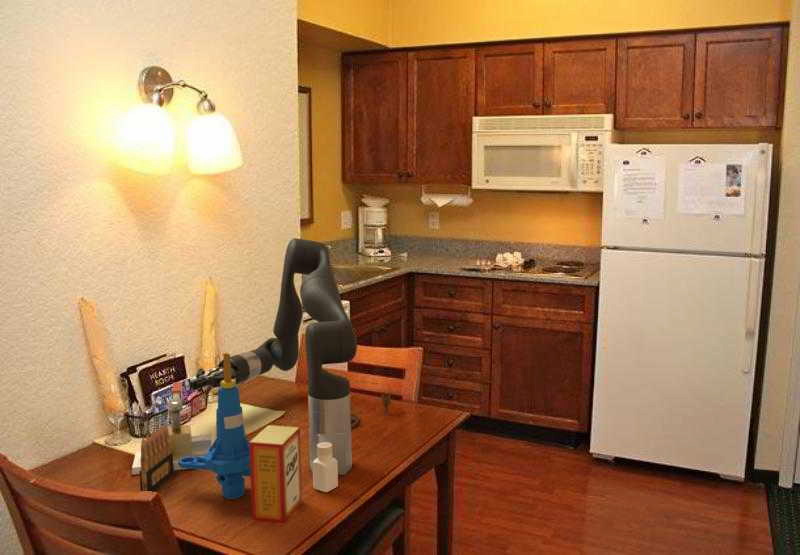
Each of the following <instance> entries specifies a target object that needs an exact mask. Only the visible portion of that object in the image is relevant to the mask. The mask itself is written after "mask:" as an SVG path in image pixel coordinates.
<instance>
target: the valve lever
mask: <svg viewBox="0 0 800 555" xmlns="http://www.w3.org/2000/svg"><path fill="white" fill-rule="evenodd" d="M171 389H172V390H171V396H172V399H171V400H169V401H167V403H166V404H167V411H169V412H171V411H178V410H180V411H181V410H182V409H183V408H184V407H183V400H182V399H181V398H182V395H183V381H177V382H175V381H174V382H172V388H171Z"/></svg>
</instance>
